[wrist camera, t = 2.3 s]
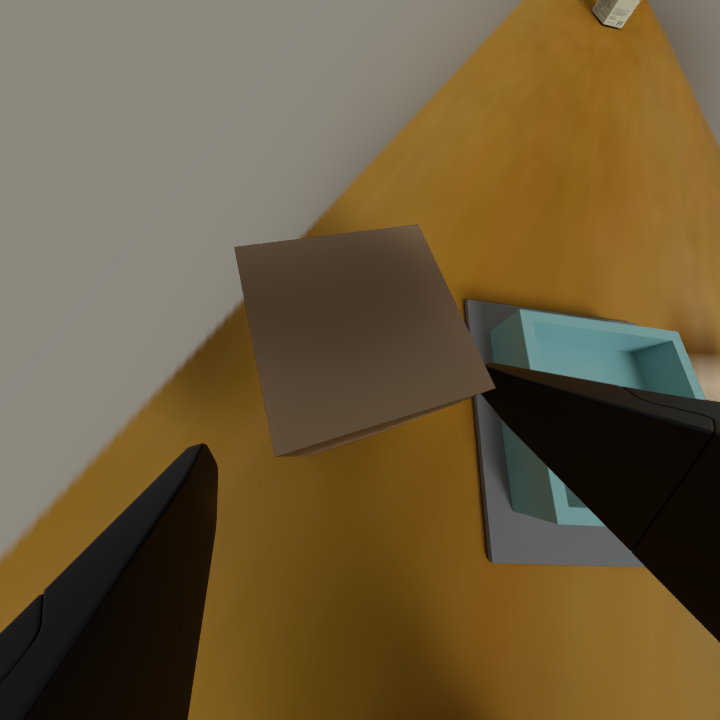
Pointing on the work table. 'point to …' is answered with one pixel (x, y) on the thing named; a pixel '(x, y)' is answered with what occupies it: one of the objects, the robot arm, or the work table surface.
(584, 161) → the work table surface
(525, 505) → the dish
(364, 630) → the work table surface
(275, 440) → the block
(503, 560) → the mat
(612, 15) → the skincare box
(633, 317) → the work table surface
